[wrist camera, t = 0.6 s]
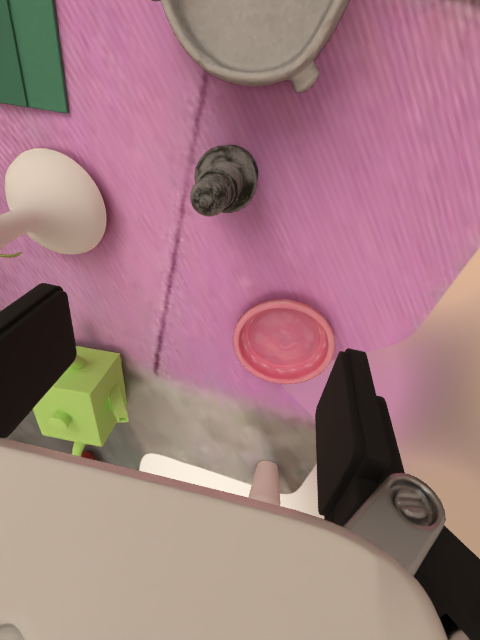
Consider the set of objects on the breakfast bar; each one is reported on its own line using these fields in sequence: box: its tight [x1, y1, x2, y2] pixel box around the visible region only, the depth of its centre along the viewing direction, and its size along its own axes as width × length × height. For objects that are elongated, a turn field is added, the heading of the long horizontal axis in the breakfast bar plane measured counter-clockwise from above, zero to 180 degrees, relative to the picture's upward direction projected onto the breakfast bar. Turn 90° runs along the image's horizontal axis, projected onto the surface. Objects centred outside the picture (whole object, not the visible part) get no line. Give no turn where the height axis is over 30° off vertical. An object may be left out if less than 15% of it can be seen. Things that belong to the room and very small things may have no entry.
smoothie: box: [249, 461, 280, 506], centre depth 54 cm, size 6×6×14 cm
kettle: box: [33, 346, 129, 457], centre depth 49 cm, size 15×14×11 cm
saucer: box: [233, 299, 335, 384], centre depth 43 cm, size 12×12×3 cm
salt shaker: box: [190, 145, 258, 216], centre depth 29 cm, size 6×6×12 cm
